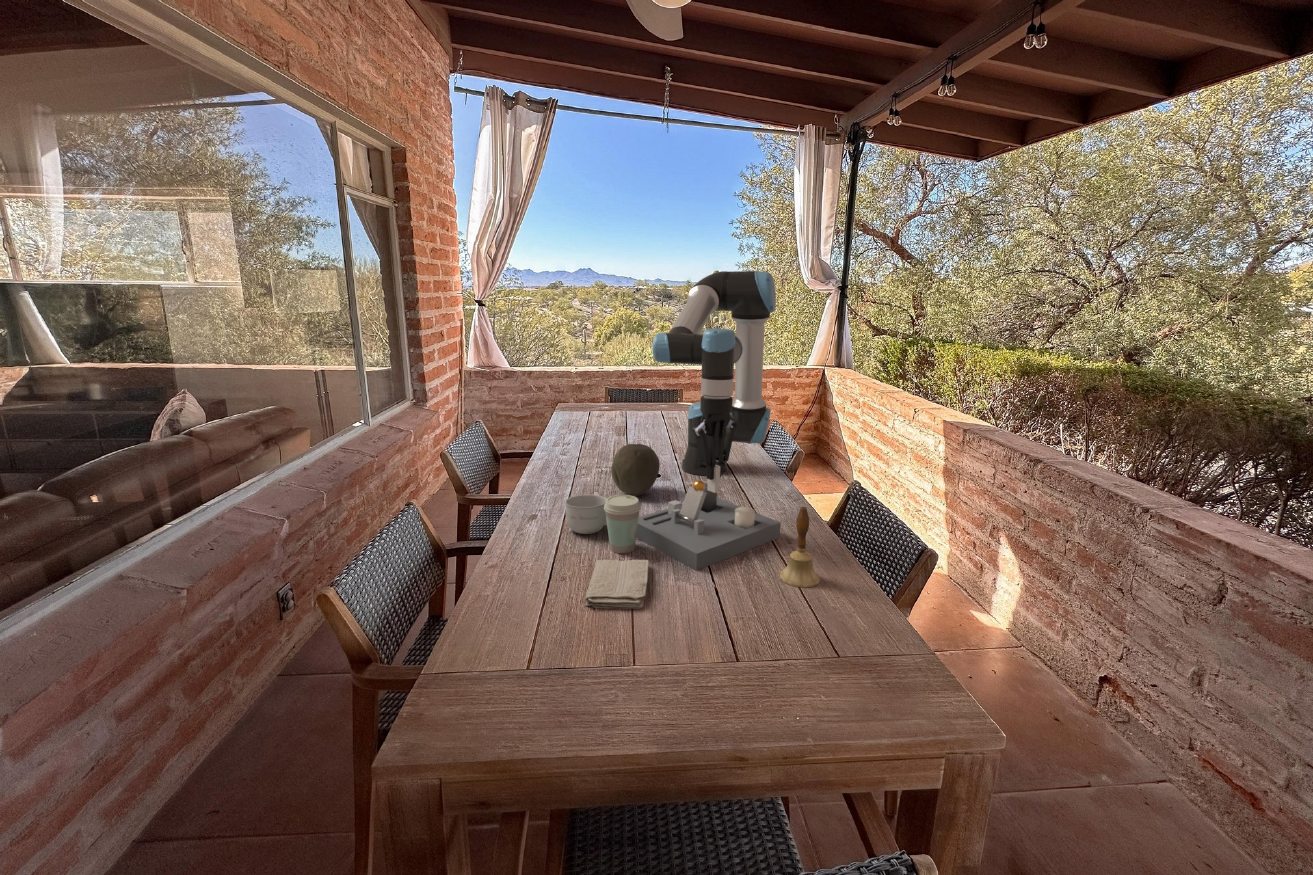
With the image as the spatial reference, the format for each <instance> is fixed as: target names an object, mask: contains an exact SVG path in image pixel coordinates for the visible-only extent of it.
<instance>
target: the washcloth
mask: <svg viewBox="0 0 1313 875" xmlns="http://www.w3.org/2000/svg"><path fill="white" fill-rule="evenodd" d="M648 575H649V560H648V559H630V560H619V559H597V560H596V561H595V564H594V568H593V572H592V575H591V576H590V578H591V579H590V580H589V584H588V587H587V590H586V593H585V597H584V600H585V601H586V602H585V607H586V608H588V607H591V608H597V609H622V610H623V609H625V610H628V609H629V610H638V609H642V608H643V607H644V604H645V599H646V598H647V587H648Z"/></svg>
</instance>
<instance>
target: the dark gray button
mask: <svg viewBox="0 0 1313 875" xmlns="http://www.w3.org/2000/svg"><path fill="white" fill-rule="evenodd" d="M704 485H705V488H704V490H703V492H706V496H705V499H704V502H703V505H702V508H701V510H705V511H712V510H715V509H716V508H717V498H718V492H717V493H714V492H711V491H708V490H707V483H704Z"/></svg>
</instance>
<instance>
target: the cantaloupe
mask: <svg viewBox="0 0 1313 875" xmlns="http://www.w3.org/2000/svg"><path fill="white" fill-rule="evenodd" d="M660 465H661V464H660V459H659V457H658V455H657V453H656V452H655V451H654V449H653V448H652V447H650V446H649V445H646V444H642V443H628V444H625V445H623V446H622V447H621V448H619V449H618V450H617V452H615V454H614V456H613V460H612V464H611V477H612V480H613V482H614V484H615V485H616V488H618V490H619V491H620V492H622V493H623V494H625V495H631V496H634V497H639V496H642V495H643V494H645V493H646V492H648V491H649V490H650V489H652V487H653V486H654V484H655V482H656V481H657V479H658V476H659V472H660V468H661V467H660Z"/></svg>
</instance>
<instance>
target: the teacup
mask: <svg viewBox="0 0 1313 875" xmlns="http://www.w3.org/2000/svg"><path fill="white" fill-rule="evenodd" d="M607 498H608V497H605V496H602V495H599V494H598V495H597V494H579V495H574V496H570V497H568V498H566V499H565V500H564V505H565V506H564V508H565V509H564V510H565V521H566V524H567V526H568V527H569V529H571V530H572V531H573V532H575V533H577V534H581V535H582V534H583V535H589V534H591V535H592V534H595V533H597V532H599V531H601V529H602V528H604V526H607V520H606V512H605V510H604V505H605V503H606V500H607Z"/></svg>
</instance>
